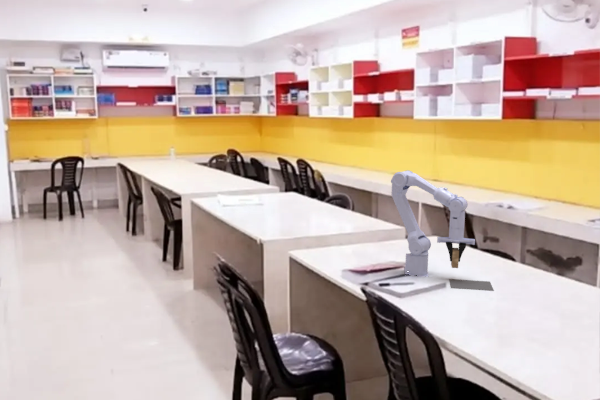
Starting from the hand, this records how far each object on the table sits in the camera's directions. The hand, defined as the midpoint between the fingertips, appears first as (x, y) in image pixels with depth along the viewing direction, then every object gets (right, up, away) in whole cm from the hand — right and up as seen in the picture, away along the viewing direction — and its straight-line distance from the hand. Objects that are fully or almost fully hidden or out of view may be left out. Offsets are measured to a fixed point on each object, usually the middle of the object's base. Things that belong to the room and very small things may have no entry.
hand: (454, 260), depth 244 cm
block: (0, -2, 0) cm, 2 cm away
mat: (+5, -9, -6) cm, 12 cm away
